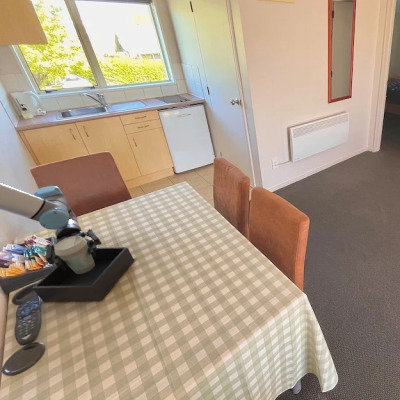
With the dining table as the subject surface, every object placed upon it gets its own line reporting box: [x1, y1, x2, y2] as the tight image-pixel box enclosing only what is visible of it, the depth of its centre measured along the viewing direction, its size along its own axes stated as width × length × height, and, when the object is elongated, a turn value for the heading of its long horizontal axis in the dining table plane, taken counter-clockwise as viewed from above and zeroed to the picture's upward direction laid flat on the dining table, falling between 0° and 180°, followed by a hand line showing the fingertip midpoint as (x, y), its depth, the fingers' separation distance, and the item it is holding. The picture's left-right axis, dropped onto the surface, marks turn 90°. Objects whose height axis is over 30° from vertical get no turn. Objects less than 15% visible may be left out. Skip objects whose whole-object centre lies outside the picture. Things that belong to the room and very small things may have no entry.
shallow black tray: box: [31, 246, 135, 303], centre depth 98 cm, size 20×20×7 cm
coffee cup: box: [54, 236, 95, 274], centre depth 93 cm, size 8×9×12 cm
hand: (78, 261), depth 90 cm, fingers closed on coffee cup, 8 cm apart
